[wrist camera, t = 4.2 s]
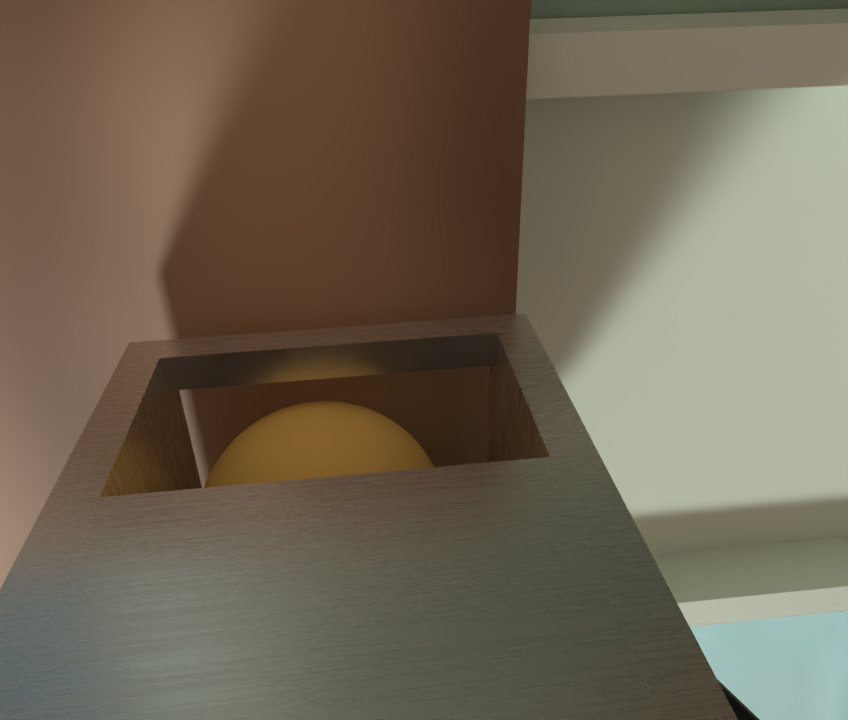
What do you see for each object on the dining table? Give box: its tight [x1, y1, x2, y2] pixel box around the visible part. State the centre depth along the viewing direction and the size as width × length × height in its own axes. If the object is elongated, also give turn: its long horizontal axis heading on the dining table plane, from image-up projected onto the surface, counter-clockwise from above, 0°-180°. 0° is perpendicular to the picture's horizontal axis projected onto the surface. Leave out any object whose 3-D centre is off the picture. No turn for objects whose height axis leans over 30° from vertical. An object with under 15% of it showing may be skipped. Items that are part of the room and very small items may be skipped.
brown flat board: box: [0, 0, 531, 588], centre depth 12 cm, size 12×14×2 cm
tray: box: [516, 8, 848, 627], centre depth 14 cm, size 11×12×2 cm
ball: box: [204, 401, 434, 488], centre depth 10 cm, size 4×4×4 cm
